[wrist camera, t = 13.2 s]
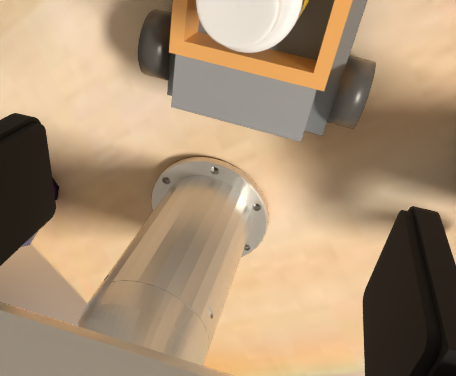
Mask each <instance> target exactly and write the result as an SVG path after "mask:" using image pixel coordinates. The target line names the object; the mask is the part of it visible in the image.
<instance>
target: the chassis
mask: <svg viewBox="0 0 456 376" xmlns="http://www.w3.org/2000/svg"><path fill="white" fill-rule="evenodd" d="M366 3H367V0H309V2H308V4H307V6H306V7H305V9H304V10H303V12H302V14H301V15H300V17H299V18H298V20H297V22H296V23H295V25H294V27H293V28H292V30H291V31H290V32H289V33H288V34H287V36H286V37H285V38H284V39H283V40H281V41H280V42H279V43H278V44H276V45H275V46H273V47H271V48H269V49H267V50H264V51H260V52H255V53H244V52H238V51H234V50H231V49H229V48H227V47H225V46H223V45H222V44H220V43H218V42H216V41H215V40H214V39H212V38H211V37H210V36H209V35H208V33H207V32H206V31H205V29H204V28H203V26H202V24H201V22H200V20H199V17H198V13H197V8H196V0H173V4H172V13H168V12H164V11H160V10H153V11H151V12H150V13H149V15H148V16H147V18H146V19H145V22H144V24H143V27H142V30H141V33H140V38H139V45H138V61H139V66H140V69H141V71H142V72H143V73H144V74H145V75H149V76H153V77H157V78H161V79H164V80H168V92H167V95H171V96H172V103H171V107H173V108H177V109H181V110H184V111H188V112H192V113H196V114H199V115H203V116H207V117H210V118H214V119H218V120H222V121H225V122H229V123H233V124H236V125H240V126H244V127H247V128H251V129H255V130H259V131H262V132H266V133H270V134H273V135H277V136H281V137H285V138H288V139H292V140H296V141H299V142H301V140H302V137H303V133H304V131H306V132H310V133H314V134H317V135H321V136H323V133H324V130H325V127H326V124H327V122H329V123H333V124H337V125H341V126H344V127H348V128H352V129H354V128H355V126H356V125H357V123H358V121H359V118H360V116H361V114H362V111H363V109H364V106H365V103H366V101H367V98H368V95H369V91H370V88H371V85H372V81H373V77H374V73H375V67H376V63H375V62H373V61H369V60H365V59H361V58H357V57H352V56H349V54H350V51H351V48H352V45H353V42H354V39H355V36H356V33H357V30H358V27H359V24H360V21H361V18H362V15H363V12H364V9H365V6H366Z"/></svg>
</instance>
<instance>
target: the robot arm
mask: <svg viewBox="0 0 456 376" xmlns="http://www.w3.org/2000/svg"><path fill="white" fill-rule="evenodd" d="M151 204H152V210H153V212H152V214H151V215H150V216H149V218H148V219H147V221H146V222H145V223H144V225H143V226H142V228H141V229H140V230H139V232H138V233H137V235H136V236H135V237H134V239H133V240H132V242H131V243H130V244H129V246H128V247H127V249H126V250H125V251H124V253H123V254H122V256H121V257H120V258H119V260H118V261H117V263H116V264H115V265H114V267H113V268H112V270H111V271H110V272H109V274H108V275H107V277H106V278H105V279H104V281H103V282H102V284H101V285H100V287H99V288H98V289H97V291H96V292H95V294H94V295H93V296H92V298H91V299H90V301H89V302H88V304H87V305H86V307H85V309H84V311H83V312H82V315H81V317H80V319H79V322H78V326H76V325H72V324H69V323H66V322H63V321H60V320H56V319H53V318H50V317H47V316H43V315H40V314H37V313H34V312H31V311H28V310H24V309H21V308H18V307H15V306H11V305H8V304H5V303H2V302H0V376H233V375H230V374H227V373H224V372H221V371H217V370H214V369H211V368H208V367H205V366H203V363H204V360H205V357H206V354H207V352H208V348H209V346H210V343H211V340H212V337H213V334H214V332H215V329H216V326H217V323H218V320H219V317H220V315H221V312H222V309H223V306H224V303H225V300H226V298H227V295H228V292H229V289H230V286H231V284H232V281H233V278H234V275H235V272H236V269H237V267H238V264H239V261H240V258H241V257H243V256H245V255H247V254H249V253H250V252H252V251H253V250H254V249H255V248H257V247H258V245H259V244H260V243H261V241H262V240H263V237H264V235H265V233H266V229H267V226H268V216H269V213H268V208H267V203H266V201H265V198H264V196H263V194H262V192H261V191H260V189H259V188H258V186H257V185H256V183H255V182H254V181H253V180H252V179H251V178H250V177H249V176H248V175H246V174H245V173H244V172H242V171H241V170H240V169H238V168H236V167H235V166H233V165H231V164H229V163H227V162H224V161H221V160H217V159H213V158H207V157H192V158H187V159H182V160H180V161H178V162H175V163H173V164H172V165H170V166H169V167H168V168H167V169H165V170H164V172H163V173H162V174H161V175H160V176H159V178H158V179H157V181H156V183H155V184H154V187H153V191H152V197H151ZM55 210H56V203H55V195H54V188H53V181H52V173H51V166H50V159H49V151H48V144H47V137H46V130H45V128H44V126H43V125H41V123H40V121H39V120H38V119H37V118H35V117H31V116H26V115H22V114H17V113H14V114H11V115H9V116H7V117H5V118H3V119H1V120H0V266H1V265H2V264H3V263H4V262H5V261H6V260H7V259H8V258H9V257H10V256H11V255H12V254H14V252H15V251H17V250H18V249H19V248H20V247H21V246H22V245H23V244H24V243H25V242H26V241H27V240H29V239H30V238H31V237H32V236H33V235H34V234H35V233H36V232H37V231H38V230H39V229H40V228H41V227H43V226H44V225H45V224H46V223H47V222H48V221H49V220H50V219H51V218H52V217H53V215H54V213H55ZM363 327H364V356H365V376H456V264H455V261H454V258H453V255H452V252H451V249H450V246H449V243H448V240H447V237H446V234H445V231H444V227H443V224H442V221H441V218H440V215H439V213H438V212H435V211H431V210H427V209H422V208H418V207H414V206H412V207H410V209H409V210H408V211H404V210H401V211H400V212H399V214H398V216H397V218H396V220H395V223H394V225H393V227H392V230H391V232H390V234H389V236H388V239H387V241H386V243H385V245H384V248H383V250H382V252H381V255H380V257H379V259H378V261H377V264H376V266H375V268H374V271H373V273H372V275H371V277H370V280H369V282H368V284H367V287H366V289H365V292H364V296H363Z"/></svg>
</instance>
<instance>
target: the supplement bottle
mask: <svg viewBox="0 0 456 376" xmlns="http://www.w3.org/2000/svg"><path fill="white" fill-rule="evenodd" d="M308 2H309V0H196V8H197V13H198V17H199V20H200V22H201V24H202V26H203V28H204V29H205V31H206V32H207V33H208V35H209V36H210V37H211V38H212V39H214V40H215V41H216V42H218V43H220V44H222V45H223V46H225V47H227V48H229V49H231V50H234V51H238V52H244V53H255V52H260V51H264V50H267V49H269V48H271V47H273V46H275V45H276V44H278V43H279V42H280V41H281V40H283V39H284V38H285V37H286V36H287V34H288V33H289V32H290V31H291V30H292V28H293V27H294V25H295V23H296V22H297V20H298V18H299V17H300V15H301V14H302V12H303V10H304V9H305V7H306V6H307V4H308Z"/></svg>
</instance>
